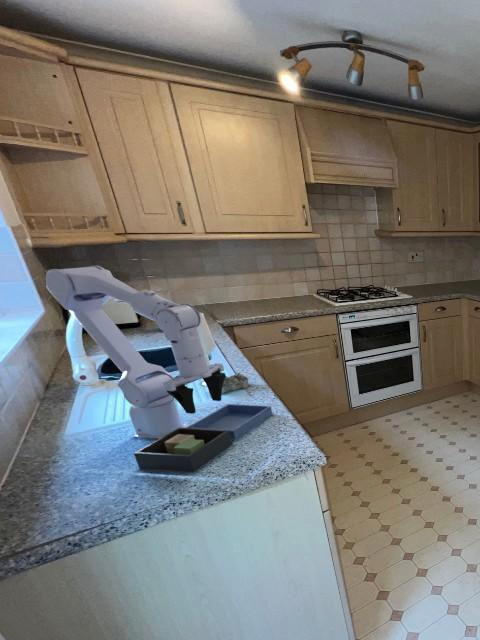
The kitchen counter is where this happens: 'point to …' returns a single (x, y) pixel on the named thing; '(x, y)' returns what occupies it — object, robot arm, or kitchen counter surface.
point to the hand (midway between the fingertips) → (204, 406)
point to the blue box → (234, 419)
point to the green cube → (188, 446)
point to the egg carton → (235, 382)
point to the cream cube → (176, 442)
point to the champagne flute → (205, 339)
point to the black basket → (161, 460)
